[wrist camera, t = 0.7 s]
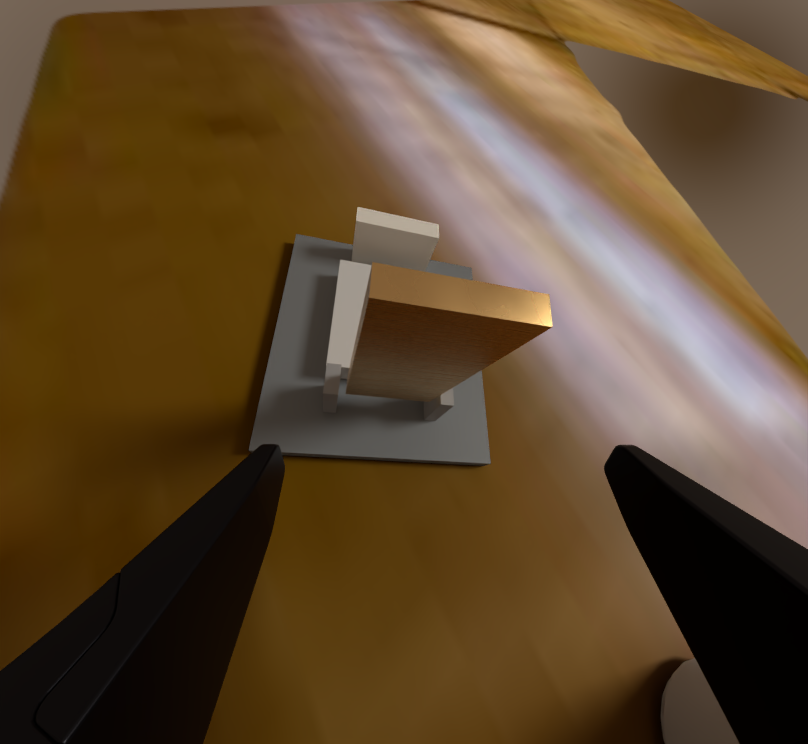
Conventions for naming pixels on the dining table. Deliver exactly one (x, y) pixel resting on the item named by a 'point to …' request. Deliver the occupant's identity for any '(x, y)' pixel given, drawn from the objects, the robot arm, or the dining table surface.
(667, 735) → the can
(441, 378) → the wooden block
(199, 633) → the robot arm
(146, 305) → the dining table surface
